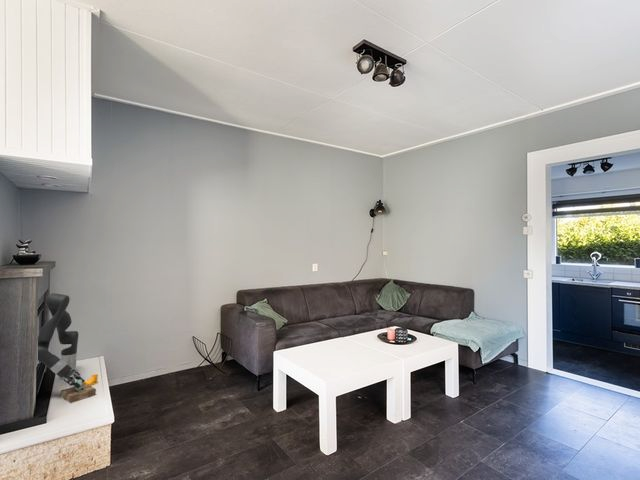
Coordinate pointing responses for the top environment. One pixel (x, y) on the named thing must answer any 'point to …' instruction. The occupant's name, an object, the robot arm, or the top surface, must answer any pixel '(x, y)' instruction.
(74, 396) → the walnut socket block
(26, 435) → the top surface
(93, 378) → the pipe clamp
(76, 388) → the teal peg
